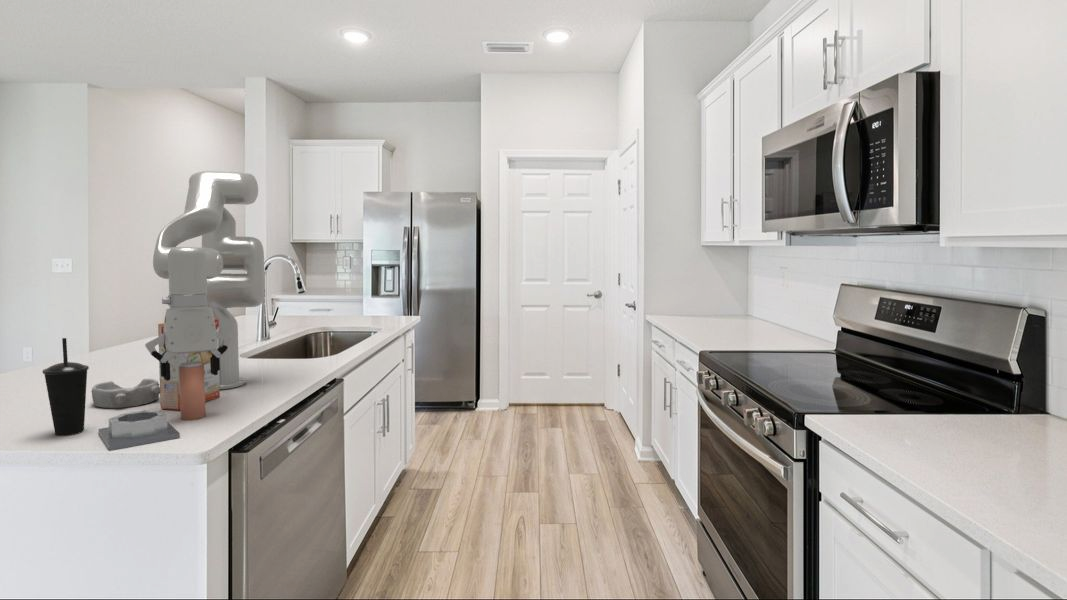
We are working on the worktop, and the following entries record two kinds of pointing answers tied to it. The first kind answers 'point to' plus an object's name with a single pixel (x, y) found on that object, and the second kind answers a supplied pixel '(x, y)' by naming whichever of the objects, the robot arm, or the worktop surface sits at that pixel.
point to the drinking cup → (67, 394)
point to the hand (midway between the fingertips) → (191, 376)
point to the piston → (192, 390)
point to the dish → (125, 394)
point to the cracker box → (172, 386)
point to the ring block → (137, 429)
